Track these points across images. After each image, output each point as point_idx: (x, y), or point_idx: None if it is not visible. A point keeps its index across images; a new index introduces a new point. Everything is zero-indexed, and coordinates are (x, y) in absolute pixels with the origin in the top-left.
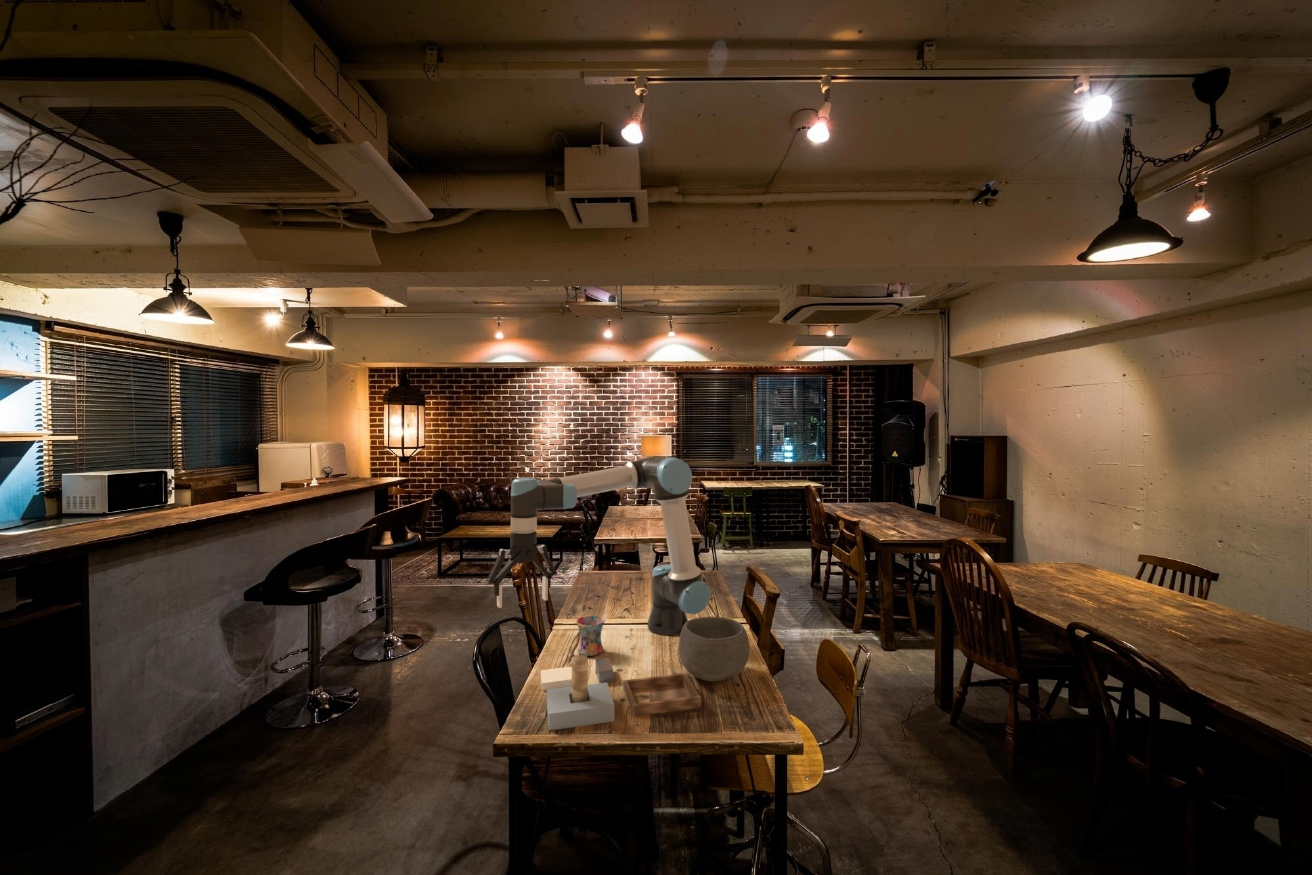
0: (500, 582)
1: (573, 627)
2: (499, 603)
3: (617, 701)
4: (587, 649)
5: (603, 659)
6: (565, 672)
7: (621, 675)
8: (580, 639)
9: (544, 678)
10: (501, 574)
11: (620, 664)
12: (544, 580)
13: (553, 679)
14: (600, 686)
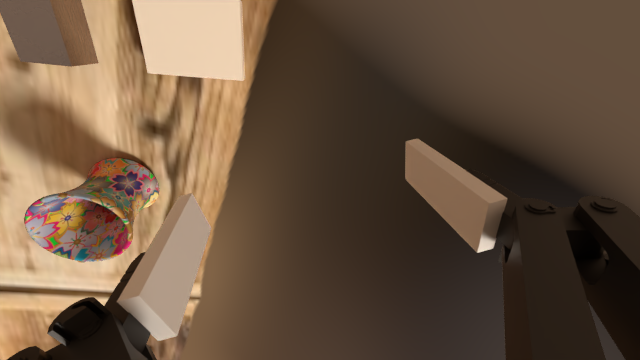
0: (517, 214)
1: None
2: (428, 146)
3: None
4: (125, 169)
5: (39, 55)
6: (174, 41)
7: (4, 24)
8: (139, 198)
9: (233, 26)
10: (575, 271)
11: (24, 97)
12: (159, 292)
13: (207, 8)
14: None
